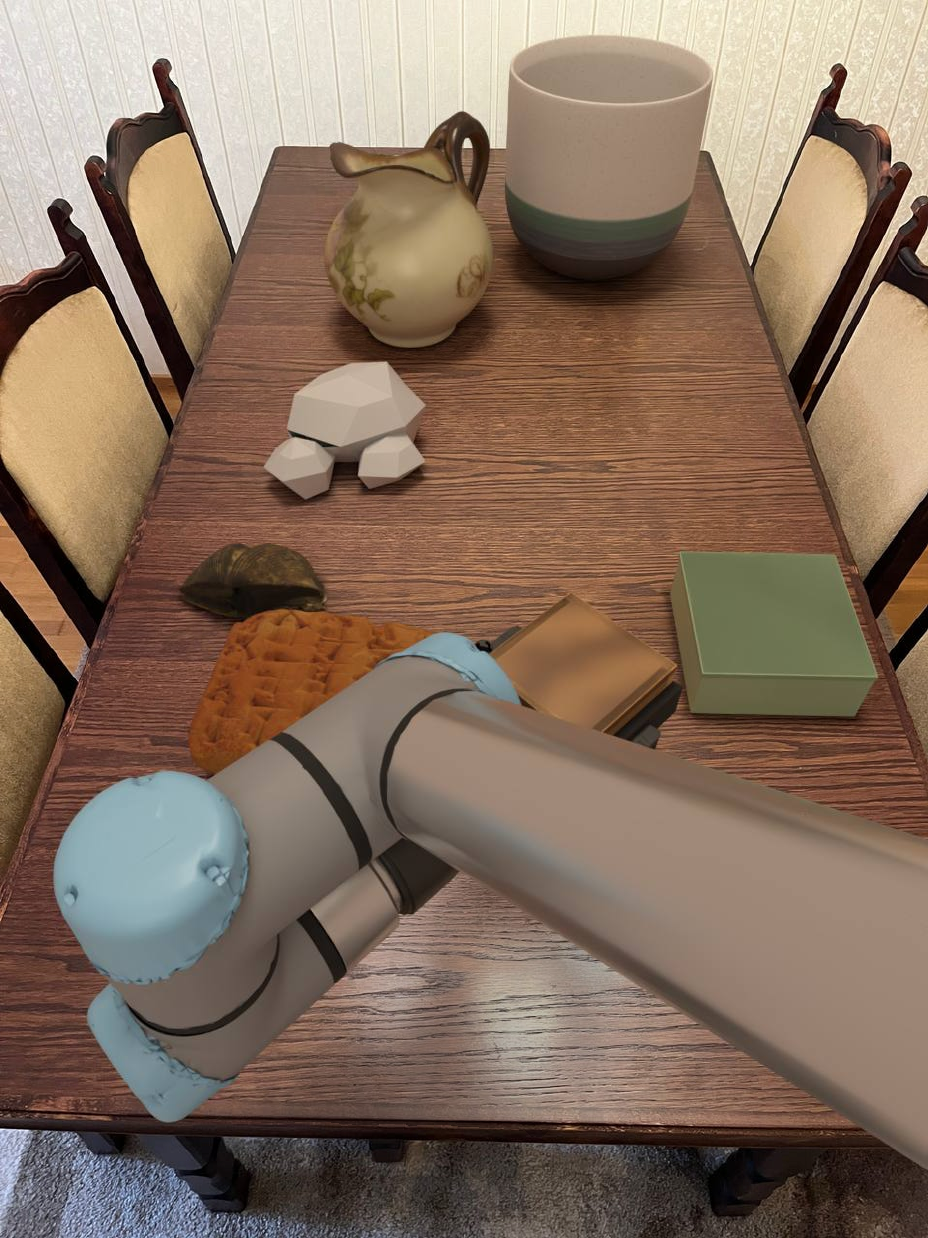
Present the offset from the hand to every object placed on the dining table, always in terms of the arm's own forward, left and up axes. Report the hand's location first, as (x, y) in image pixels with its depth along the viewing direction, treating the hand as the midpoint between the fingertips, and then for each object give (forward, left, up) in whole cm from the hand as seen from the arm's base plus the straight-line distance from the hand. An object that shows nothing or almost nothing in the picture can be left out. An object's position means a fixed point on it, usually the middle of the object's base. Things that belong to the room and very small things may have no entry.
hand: (616, 655), depth 62 cm
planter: (+90, +28, -20) cm, 97 cm away
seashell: (+10, +38, -20) cm, 44 cm away
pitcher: (+64, +46, -20) cm, 81 cm away
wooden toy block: (-4, +2, -6) cm, 8 cm away
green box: (+22, -10, -20) cm, 32 cm away
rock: (+34, +41, -20) cm, 57 cm away
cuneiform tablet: (-2, +23, -20) cm, 30 cm away
